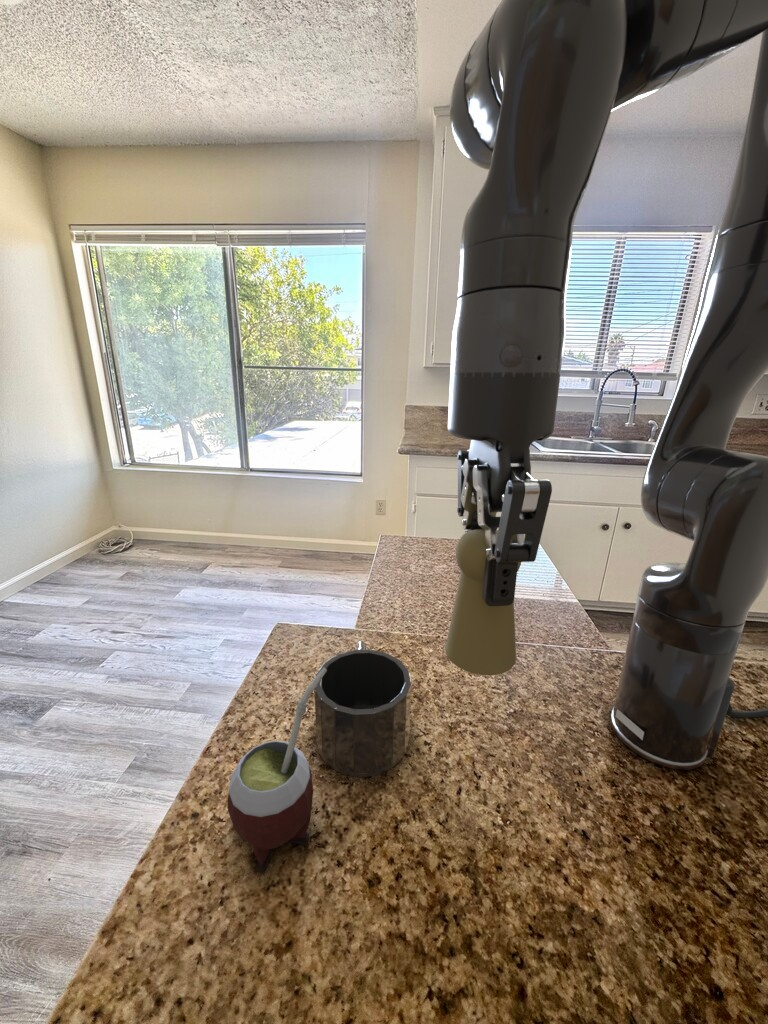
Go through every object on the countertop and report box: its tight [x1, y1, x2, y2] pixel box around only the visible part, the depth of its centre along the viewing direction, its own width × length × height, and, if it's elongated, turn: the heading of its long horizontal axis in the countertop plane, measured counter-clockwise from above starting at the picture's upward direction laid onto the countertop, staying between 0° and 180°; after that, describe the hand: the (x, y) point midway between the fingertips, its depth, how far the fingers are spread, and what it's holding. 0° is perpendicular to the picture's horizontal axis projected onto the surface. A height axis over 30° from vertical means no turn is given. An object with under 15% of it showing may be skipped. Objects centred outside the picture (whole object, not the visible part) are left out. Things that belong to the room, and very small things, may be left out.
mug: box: [313, 640, 412, 778], centre depth 49 cm, size 14×10×8 cm
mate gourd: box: [226, 667, 327, 874], centre depth 36 cm, size 8×8×15 cm
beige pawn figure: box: [444, 529, 522, 676], centre depth 35 cm, size 6×6×11 cm
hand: (485, 585), depth 35 cm, fingers closed on beige pawn figure, 5 cm apart
